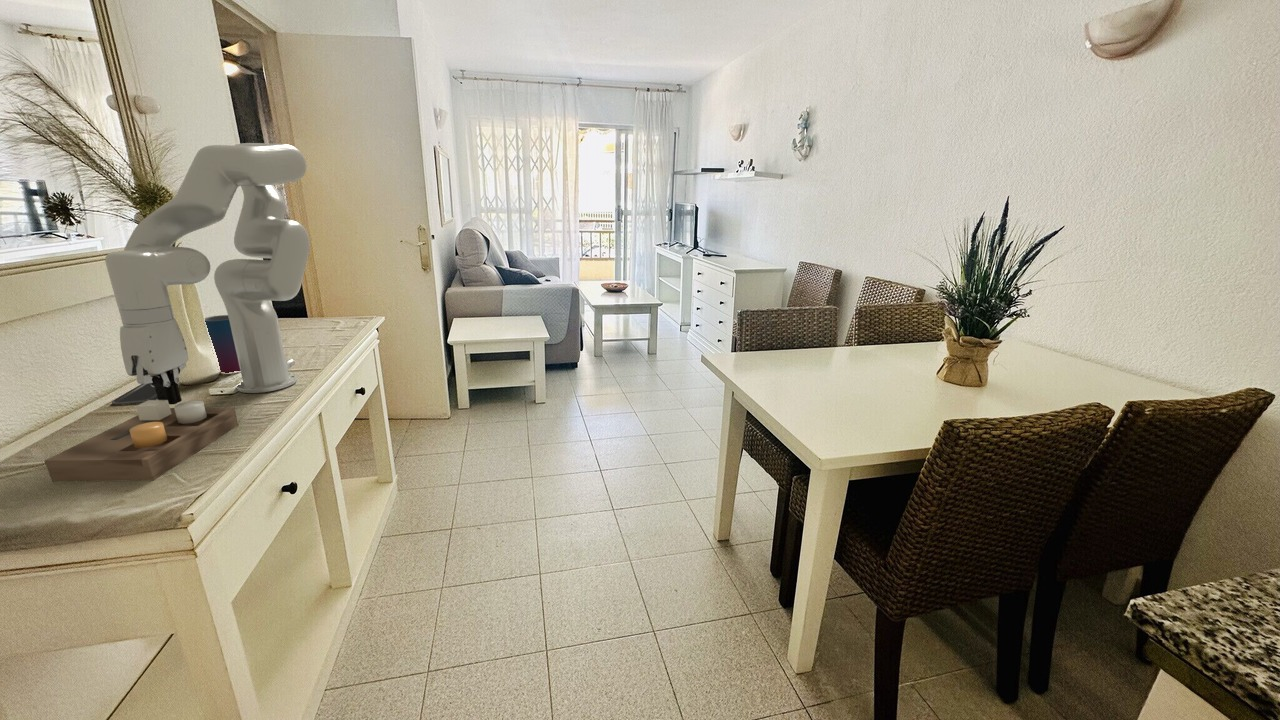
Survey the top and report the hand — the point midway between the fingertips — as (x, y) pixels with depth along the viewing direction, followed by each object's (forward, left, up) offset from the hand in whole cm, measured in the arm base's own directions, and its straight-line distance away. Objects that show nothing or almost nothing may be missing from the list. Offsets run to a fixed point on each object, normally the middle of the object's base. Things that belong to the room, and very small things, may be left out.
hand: (170, 402), depth 106 cm
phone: (-20, -20, -6) cm, 29 cm away
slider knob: (+4, 0, -1) cm, 4 cm away
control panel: (+10, +4, -6) cm, 12 cm away
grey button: (+5, +8, -1) cm, 9 cm away
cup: (-35, -11, -6) cm, 37 cm away
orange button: (+15, +8, -1) cm, 17 cm away
